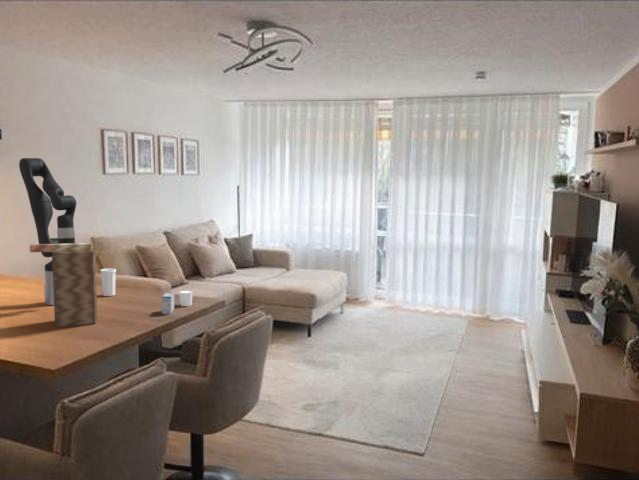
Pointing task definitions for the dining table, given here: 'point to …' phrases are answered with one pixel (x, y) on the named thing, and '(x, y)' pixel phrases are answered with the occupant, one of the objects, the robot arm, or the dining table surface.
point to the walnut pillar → (74, 288)
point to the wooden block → (60, 247)
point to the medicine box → (167, 303)
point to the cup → (108, 281)
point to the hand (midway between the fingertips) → (68, 270)
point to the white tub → (185, 298)
